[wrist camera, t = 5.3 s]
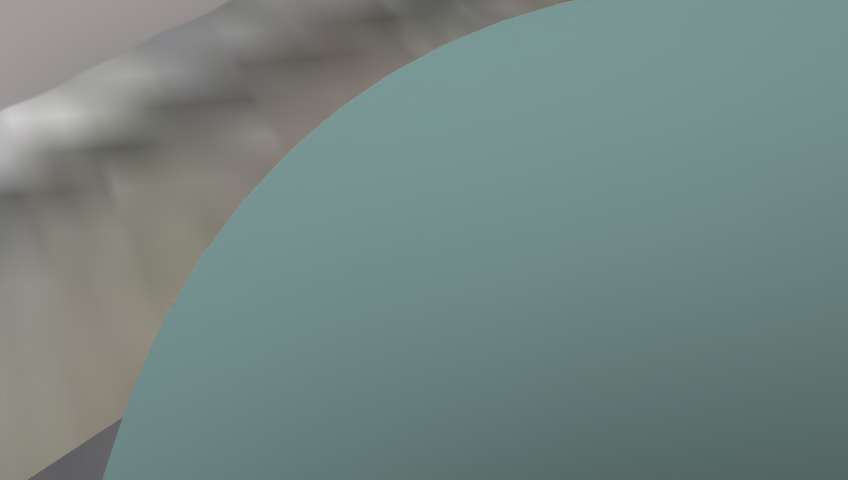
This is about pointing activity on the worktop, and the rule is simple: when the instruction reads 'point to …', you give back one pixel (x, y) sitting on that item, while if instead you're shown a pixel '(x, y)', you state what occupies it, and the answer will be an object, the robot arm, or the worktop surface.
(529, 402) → the post
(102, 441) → the metal base plate
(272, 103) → the worktop surface
